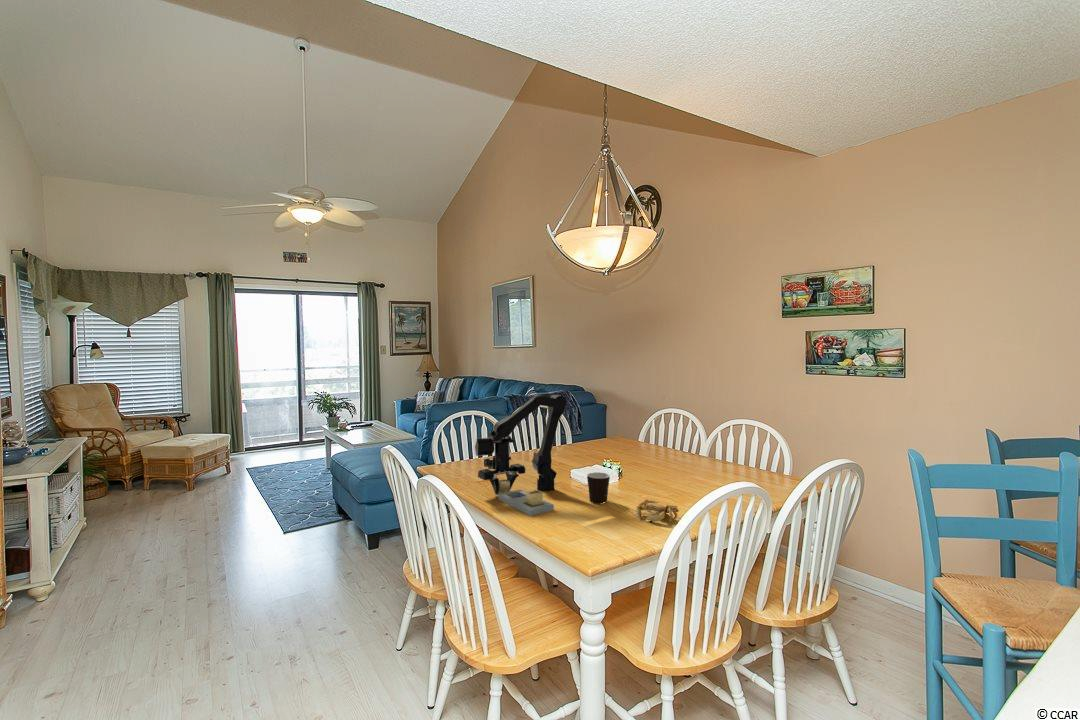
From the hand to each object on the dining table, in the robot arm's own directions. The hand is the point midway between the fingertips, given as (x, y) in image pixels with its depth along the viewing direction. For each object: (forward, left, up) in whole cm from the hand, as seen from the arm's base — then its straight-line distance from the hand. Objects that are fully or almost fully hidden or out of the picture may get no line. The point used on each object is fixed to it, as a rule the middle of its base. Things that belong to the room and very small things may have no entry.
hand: (502, 493), depth 199 cm
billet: (0, 0, -1) cm, 1 cm away
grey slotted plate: (-9, +14, -1) cm, 17 cm away
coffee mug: (-36, +10, -1) cm, 37 cm away
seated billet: (-12, +19, 0) cm, 22 cm away
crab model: (-53, +27, -2) cm, 60 cm away
